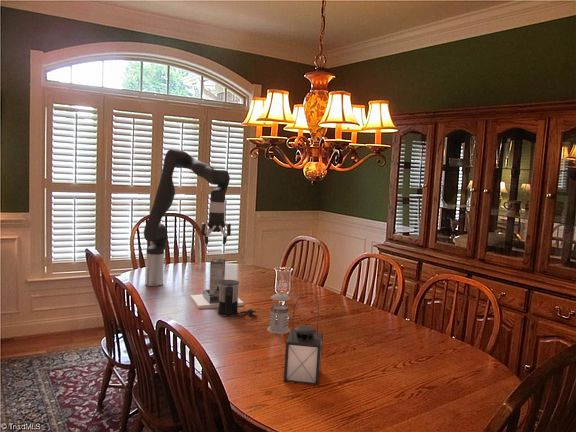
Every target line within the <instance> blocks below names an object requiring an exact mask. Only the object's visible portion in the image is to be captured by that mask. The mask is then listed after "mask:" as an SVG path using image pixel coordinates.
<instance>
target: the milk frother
mask: <svg viewBox="0 0 576 432" xmlns="http://www.w3.org/2000/svg"><path fill="white" fill-rule="evenodd" d="M219 283H220V287H219V307H217V314H218V315H219V316H222V317H234V316H237V315H241V314H242V315H243V314H248V315H249V316H253V314H254V313H257V311H256V310H253V309H252V308H251V309H248V310H243V311H238V310H239V309H238V307H239V306H238V298H239V286H240V281H239V280H237V279H225V280H221V281H219Z"/></svg>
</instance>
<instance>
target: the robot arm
mask: <svg viewBox="0 0 576 432" xmlns="http://www.w3.org/2000/svg"><path fill="white" fill-rule="evenodd" d="M162 165H163V166H162V170H161V171H162V172H161V176H160V178H159V179H160V180H159V183H158V187H157V189H156V192H155V197H154V201H153V204H152V207H151V210H150V214H149V216H148V218H147V221H146V224H145V226H144V229H143V237H144V239H145V241H147V242H151V244H150V245H149V246H148V247H146V252H145V253H146V254H145V255H146V257H145V258H146V260H145V271H144V272H145V273H144V277H145V278H144V284H145V285H147V286H146V287H160V286H159V285H161V286H163V285H164V272H165V271H164V266H165V265H164V264H165V249H166V247H167V236H168V234H167V228H166V226H165V225H164V223H161V221H162V218H163V217H164V216H165V214H166V213H167V212H168V211H169V209H170V208H171V207H172V204H173V201H174V200H175V199H174V198H175V195H176V188H175V185H174V180H173V174H174V172H175V168H176V169H188V170H190V171H192V172H193V174H195V175H196V176H198V177H200V178H202V179H204V180H205V181H207V182H208V183H209V184H212V185H216V188H214V189H212V190H211V191H210V201H209V202H210V203H209V210H208V211H209V212H208V222H202V223H201V229H200V235H201V236H203V237H204V244H205V245H209V235H211V234H212V233H221V235H222V245H226V244H227V238H228V237H229V236H230V237H231V234H232V231H231V228H232V227H231V225H232V224H231V223H230V222H226V223H225V218H226V217H225V216H226V215H225V214H226V193H227V191H228V187H229V184H230V180H231V178H230V177H231V176H230V173H229V172H228V171H227V170H225V169H215V168H214V167H213V166H212V165H210V164H207V163H205V162H203V161H200V160H198V159H196V158H194V156H192V155H190V153H187V152H186V151H184V150H180V149H175V148H174V149H173V148H171V149H168V150H167V152H166V153H165V156H164V160H163V164H162ZM207 227H208V229H207V230H206V228H207ZM224 228H226V232H225V229H224ZM162 284H163V285H162Z"/></svg>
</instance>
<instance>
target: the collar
mask: <svg viewBox="0 0 576 432" xmlns="http://www.w3.org/2000/svg"><path fill="white" fill-rule="evenodd" d="M202 294H203V297H204V298H205V299H206V300H207V301H208V302H209V303H219V296H215V295H209V289H202ZM211 296H213V297H211Z"/></svg>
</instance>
